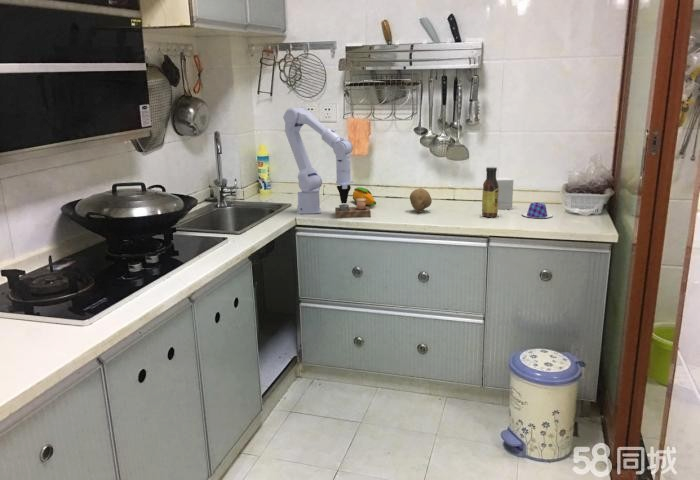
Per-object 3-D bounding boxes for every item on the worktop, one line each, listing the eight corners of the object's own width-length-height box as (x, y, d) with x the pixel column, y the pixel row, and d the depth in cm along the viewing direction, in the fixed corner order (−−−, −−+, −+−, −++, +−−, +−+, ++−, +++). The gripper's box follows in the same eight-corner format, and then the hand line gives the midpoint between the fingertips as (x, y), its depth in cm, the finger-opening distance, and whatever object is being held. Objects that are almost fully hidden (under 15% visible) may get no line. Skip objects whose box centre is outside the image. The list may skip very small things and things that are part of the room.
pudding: (558, 218, 235) (559, 205, 234) (533, 220, 232) (534, 207, 230) (540, 212, 246) (541, 199, 245) (515, 214, 243) (516, 202, 241)
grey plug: (339, 216, 243) (339, 206, 242) (339, 213, 247) (339, 204, 246) (349, 215, 243) (349, 206, 242) (348, 213, 247) (348, 204, 246)
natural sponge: (426, 208, 255) (427, 186, 252) (434, 213, 246) (435, 189, 244) (406, 210, 252) (407, 187, 250) (414, 214, 244) (414, 191, 241)
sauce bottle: (497, 218, 236) (500, 168, 231) (481, 217, 237) (483, 168, 232) (497, 214, 242) (499, 166, 237) (481, 214, 243) (483, 166, 238)
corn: (363, 183, 273) (381, 190, 255) (364, 199, 276) (382, 207, 258) (348, 186, 271) (365, 193, 253) (349, 202, 273) (366, 210, 255)
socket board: (336, 218, 241) (336, 212, 240) (335, 213, 249) (335, 207, 249) (370, 217, 242) (370, 211, 241) (368, 212, 250) (368, 206, 250)
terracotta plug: (356, 209, 243) (356, 200, 242) (355, 207, 247) (355, 198, 246) (366, 209, 243) (366, 200, 242) (365, 207, 247) (365, 198, 246)
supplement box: (512, 209, 251) (514, 179, 248) (494, 209, 251) (496, 180, 248) (508, 205, 258) (509, 177, 255) (491, 205, 258) (492, 177, 255)
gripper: (354, 173, 233) (355, 206, 237) (351, 167, 247) (352, 199, 251) (336, 173, 233) (337, 207, 237) (334, 167, 247) (335, 199, 251)
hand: (343, 203), depth 244 cm, fingers closed
